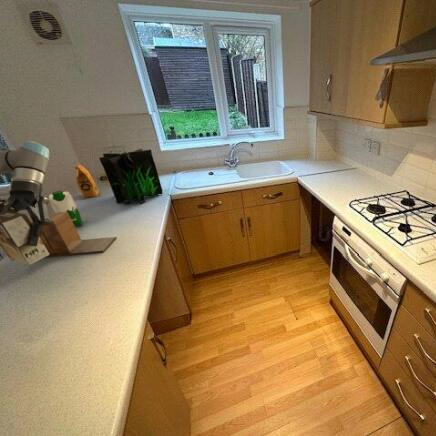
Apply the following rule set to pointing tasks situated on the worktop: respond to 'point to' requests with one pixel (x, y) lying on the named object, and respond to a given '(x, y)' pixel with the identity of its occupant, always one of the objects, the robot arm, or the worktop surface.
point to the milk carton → (65, 206)
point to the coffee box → (19, 239)
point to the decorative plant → (132, 175)
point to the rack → (69, 238)
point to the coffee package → (85, 182)
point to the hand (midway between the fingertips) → (12, 247)
